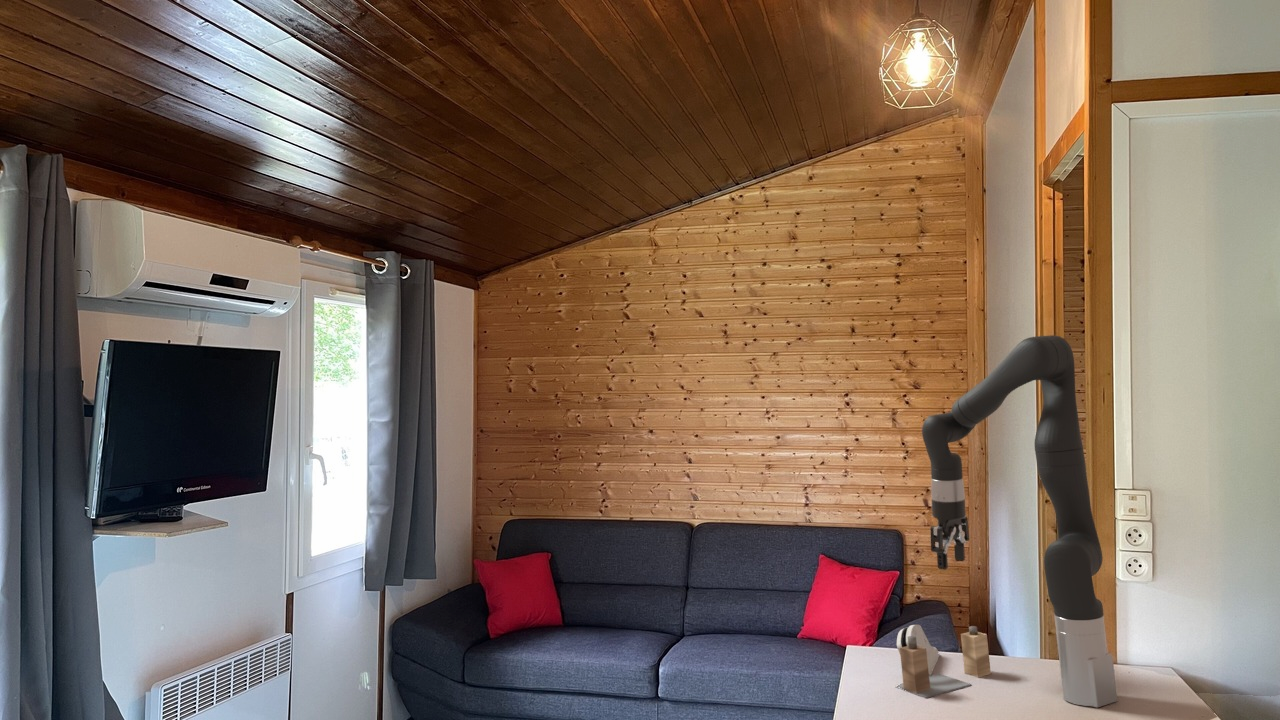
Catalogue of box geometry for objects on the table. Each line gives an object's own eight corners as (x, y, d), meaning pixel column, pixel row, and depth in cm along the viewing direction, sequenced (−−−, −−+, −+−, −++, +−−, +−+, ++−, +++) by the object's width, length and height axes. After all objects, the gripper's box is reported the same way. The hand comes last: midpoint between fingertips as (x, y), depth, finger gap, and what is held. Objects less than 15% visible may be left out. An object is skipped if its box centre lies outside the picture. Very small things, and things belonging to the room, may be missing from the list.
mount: (971, 685, 201) (965, 632, 201) (926, 698, 195) (920, 643, 196) (938, 674, 210) (933, 623, 210) (894, 686, 204) (889, 634, 205)
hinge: (930, 675, 210) (911, 634, 211) (911, 681, 211) (892, 640, 213) (939, 654, 225) (921, 616, 227) (922, 660, 227) (904, 622, 228)
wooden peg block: (990, 673, 207) (986, 627, 208) (977, 677, 205) (972, 630, 206) (977, 669, 211) (972, 623, 211) (964, 673, 209) (959, 627, 210)
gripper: (948, 504, 207) (952, 574, 208) (977, 493, 217) (980, 560, 218) (918, 501, 213) (922, 569, 214) (947, 490, 223) (951, 555, 223)
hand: (951, 564), depth 216 cm, fingers open, 8 cm apart
